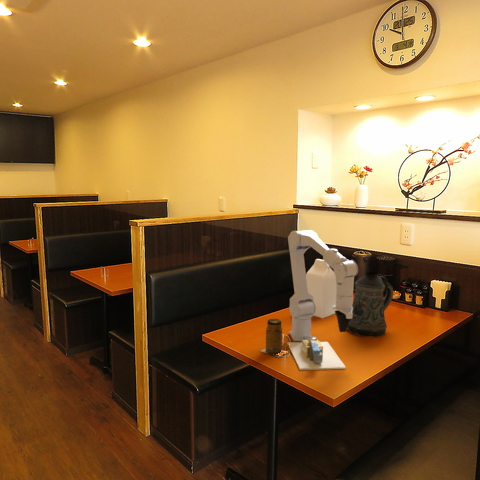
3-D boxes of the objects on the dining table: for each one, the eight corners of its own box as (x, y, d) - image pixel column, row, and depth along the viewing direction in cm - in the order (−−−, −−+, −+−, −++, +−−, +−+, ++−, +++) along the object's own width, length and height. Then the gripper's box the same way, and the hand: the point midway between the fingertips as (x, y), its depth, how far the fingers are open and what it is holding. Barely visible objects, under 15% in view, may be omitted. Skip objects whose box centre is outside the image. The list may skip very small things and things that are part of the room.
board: (287, 343, 161) (287, 342, 161) (327, 343, 162) (327, 341, 162) (299, 370, 139) (299, 368, 139) (345, 368, 141) (345, 367, 141)
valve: (298, 344, 159) (299, 333, 158) (314, 344, 159) (314, 332, 159) (309, 364, 142) (310, 351, 141) (326, 364, 143) (327, 351, 142)
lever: (307, 339, 152) (307, 336, 151) (316, 340, 151) (316, 336, 151) (311, 354, 139) (312, 350, 139) (321, 354, 139) (321, 350, 139)
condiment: (272, 345, 159) (273, 316, 157) (290, 352, 153) (291, 321, 152) (260, 351, 154) (260, 320, 152) (278, 358, 148) (279, 326, 146)
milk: (302, 311, 200) (304, 259, 196) (316, 307, 208) (318, 256, 204) (322, 318, 191) (324, 263, 187) (336, 313, 199) (339, 260, 195)
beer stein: (339, 330, 176) (342, 273, 173) (360, 319, 190) (363, 266, 187) (375, 341, 165) (380, 280, 161) (395, 328, 179) (399, 272, 176)
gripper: (328, 288, 152) (326, 324, 154) (338, 300, 138) (336, 339, 140) (347, 289, 152) (345, 324, 154) (359, 300, 138) (357, 339, 140)
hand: (342, 331), depth 147 cm, fingers closed
